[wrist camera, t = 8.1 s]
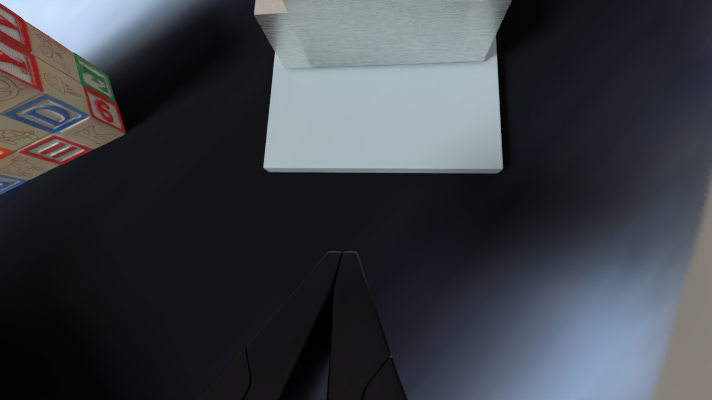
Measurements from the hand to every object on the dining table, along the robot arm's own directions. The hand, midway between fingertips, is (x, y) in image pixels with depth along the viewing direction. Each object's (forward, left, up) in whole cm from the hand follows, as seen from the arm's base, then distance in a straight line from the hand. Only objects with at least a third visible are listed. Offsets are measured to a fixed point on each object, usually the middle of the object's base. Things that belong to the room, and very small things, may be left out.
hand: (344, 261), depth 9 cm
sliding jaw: (+15, 0, -10) cm, 19 cm away
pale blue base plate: (+15, -3, -12) cm, 20 cm away
